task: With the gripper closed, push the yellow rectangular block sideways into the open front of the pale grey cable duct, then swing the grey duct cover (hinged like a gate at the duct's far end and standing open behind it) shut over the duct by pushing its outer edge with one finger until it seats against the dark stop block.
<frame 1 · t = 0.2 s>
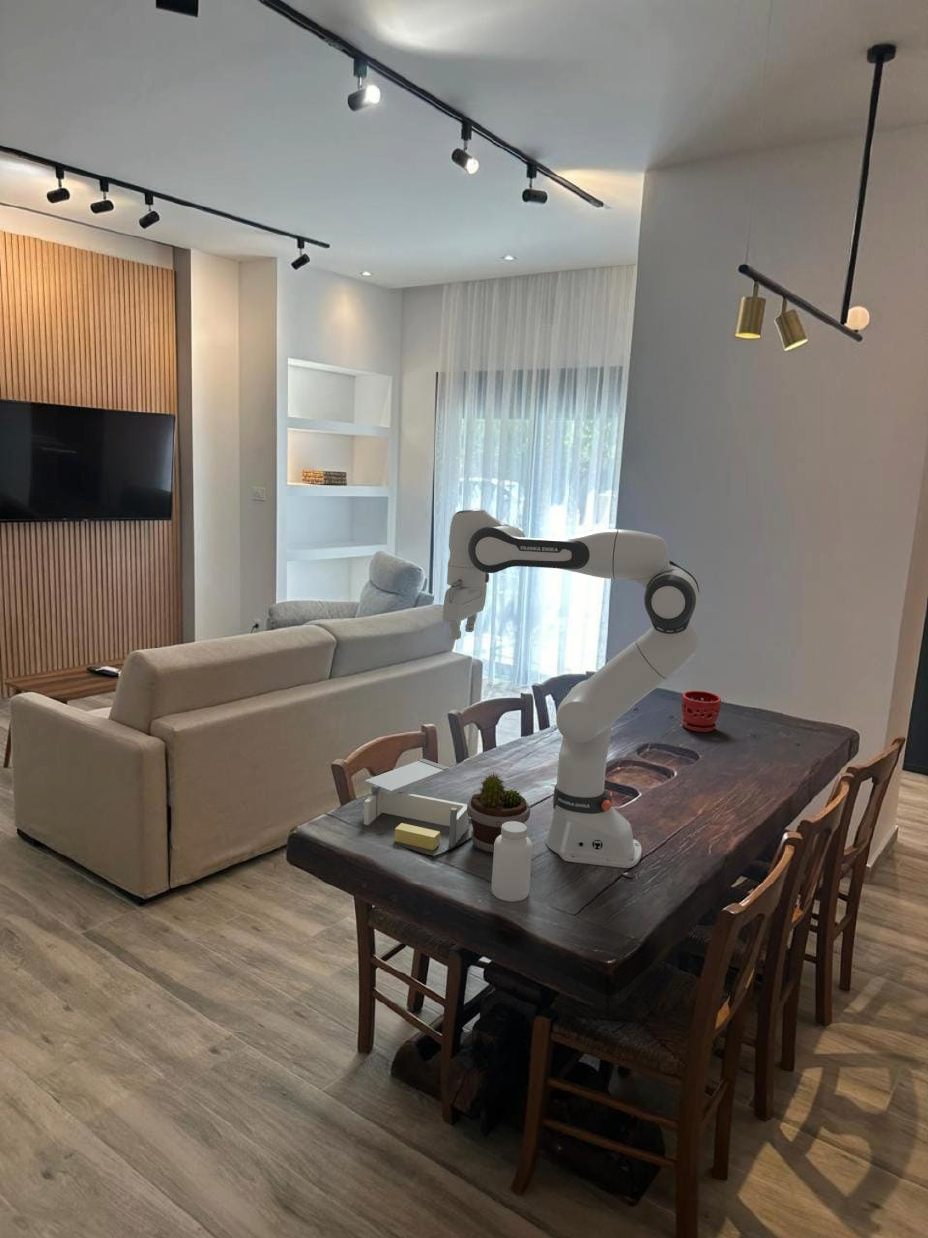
hand: (463, 635, 197), 47 cm above the table, fingers open, 8 cm apart
yellow rectangular block: (417, 843, 194), on the table
pill bottle: (510, 894, 173), on the table
flowerpot: (495, 847, 194), on the table
duct cover: (405, 776, 213), point 8 cm above the table, hinge at 70.0°
duct: (416, 826, 202), on the table
plant pot: (698, 729, 291), on the table
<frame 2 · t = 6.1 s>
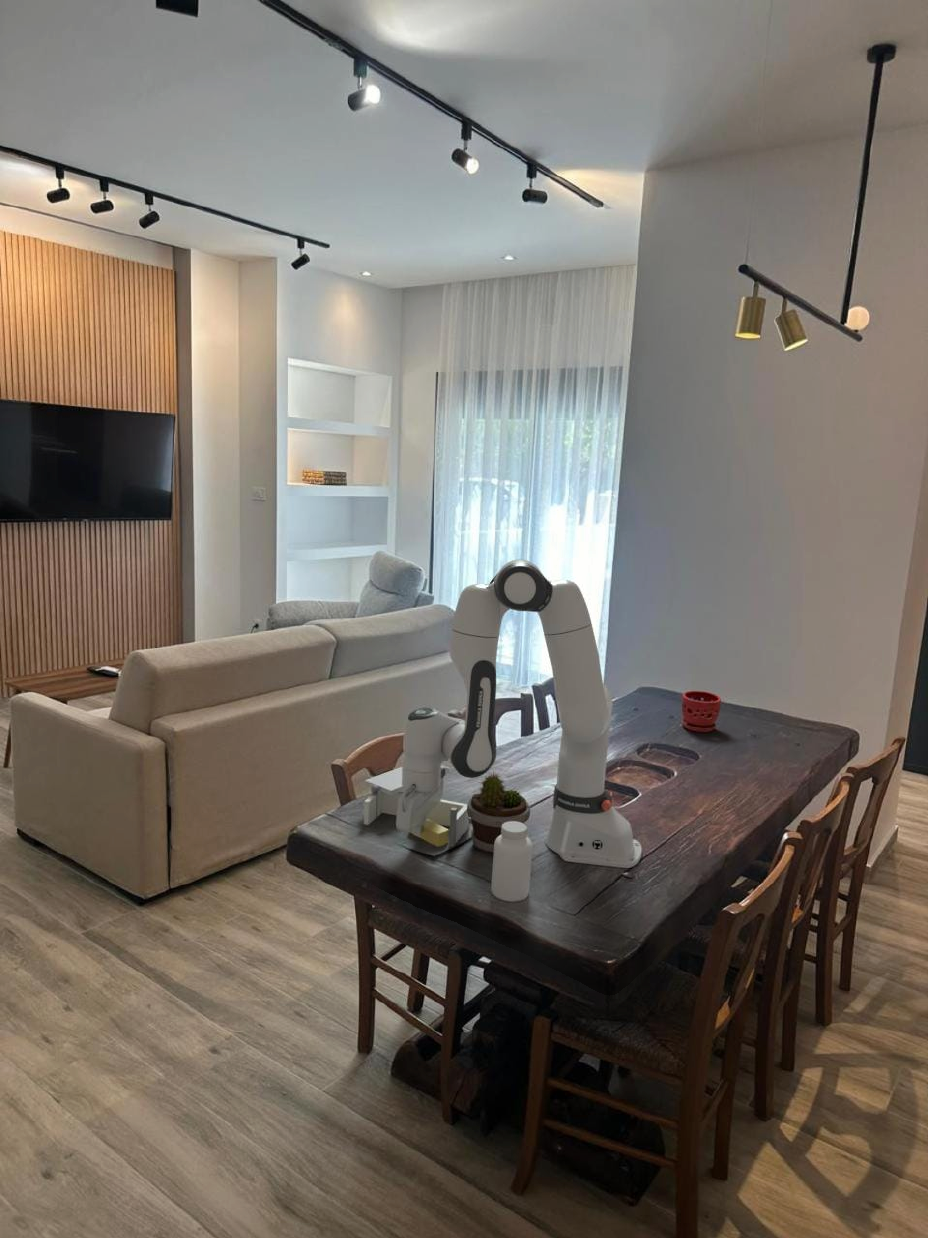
hand: (418, 833, 194), 2 cm above the table, fingers closed
yellow rectangular block: (428, 838, 197), on the table
everything else where it was.
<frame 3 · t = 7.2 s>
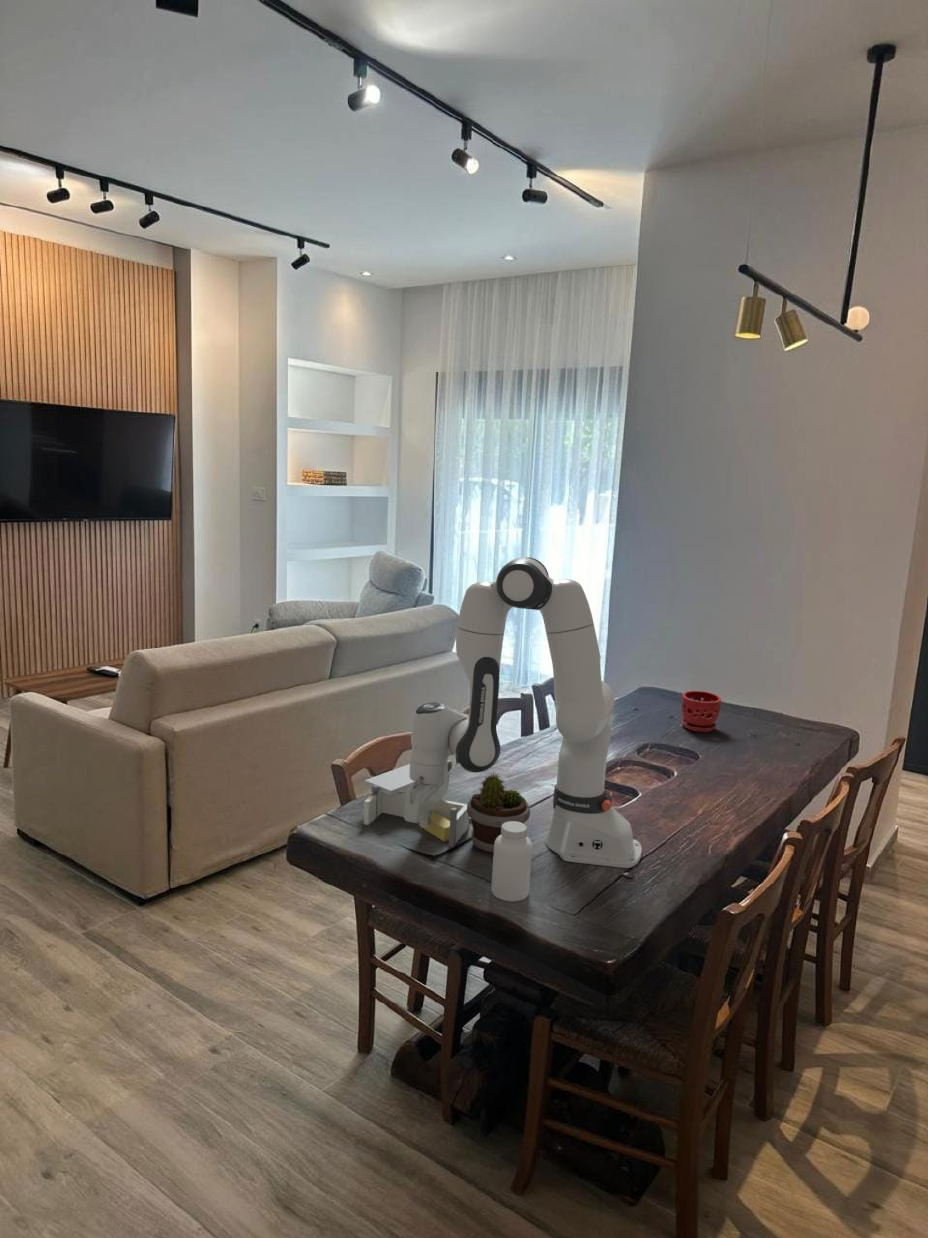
hand: (425, 825, 198), 2 cm above the table, fingers closed
yellow rectangular block: (437, 832, 200), on the table, touching duct, gripper
everything else where it was.
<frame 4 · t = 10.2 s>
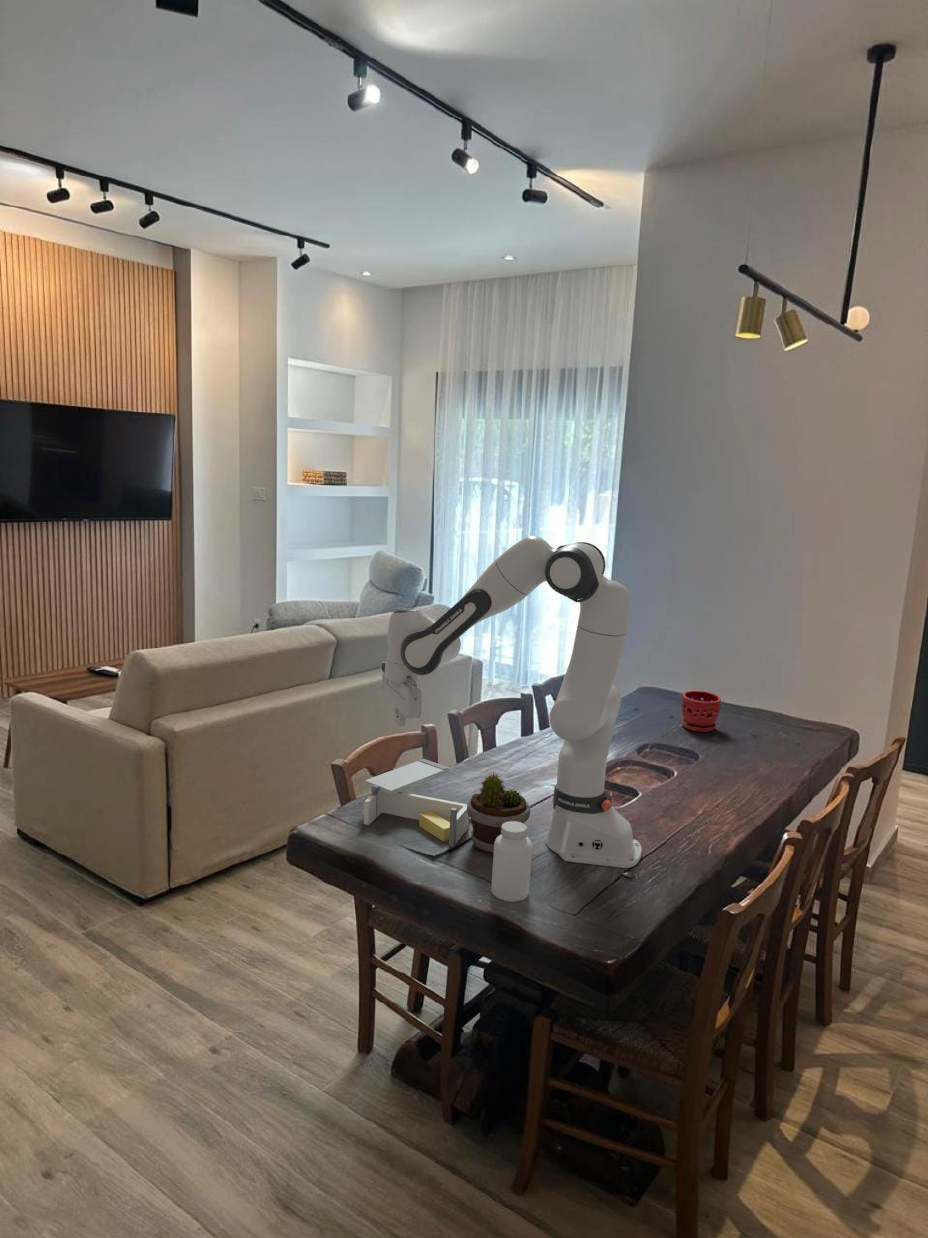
hand: (400, 724, 209), 22 cm above the table, fingers closed
yellow rectangular block: (436, 833, 200), on the table
everything else where it was.
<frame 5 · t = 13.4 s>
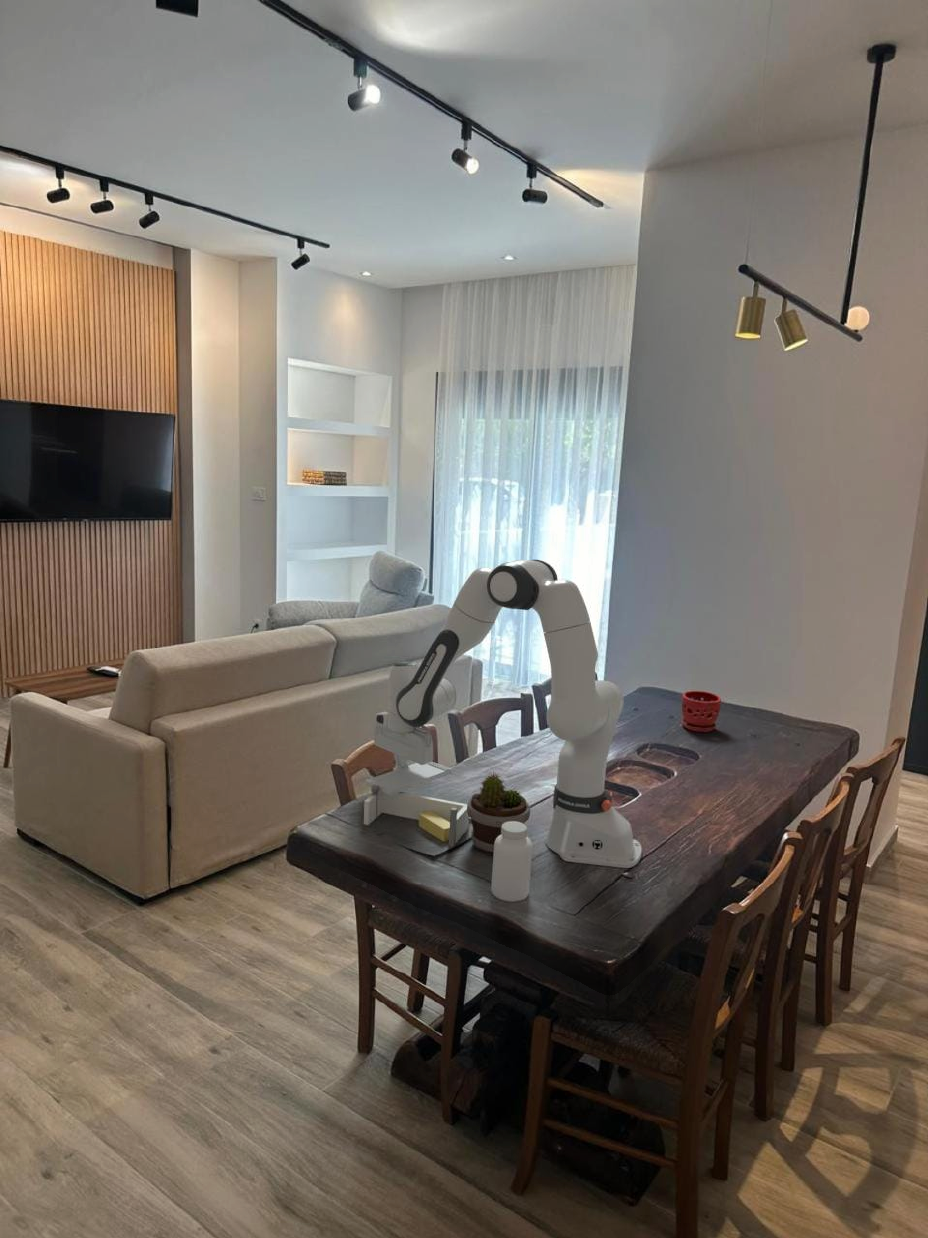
hand: (402, 770, 220), 7 cm above the table, fingers closed
duct cover: (406, 777, 213), point 8 cm above the table, hinge at 67.8°, touching gripper
everything else where it was.
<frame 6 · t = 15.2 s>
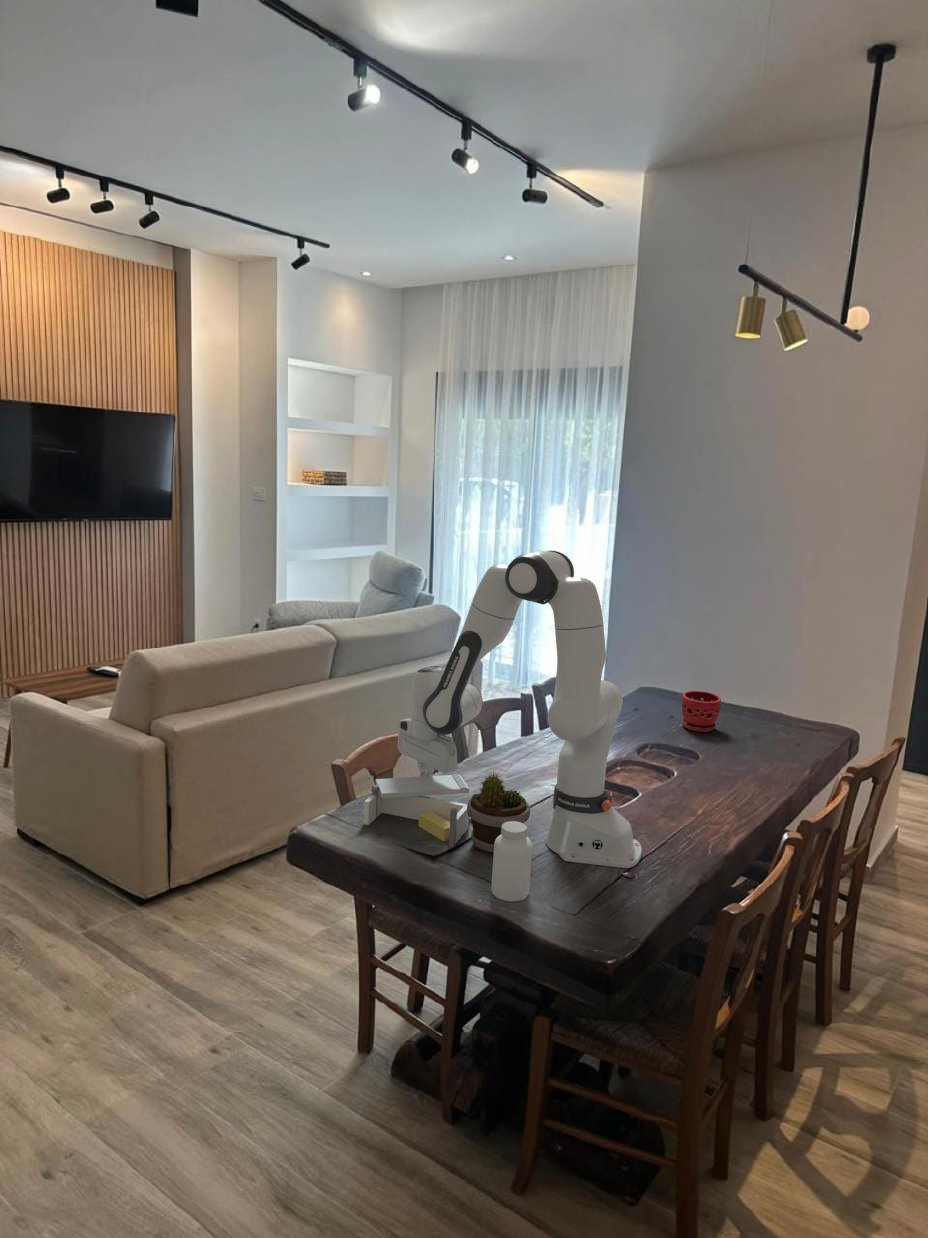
hand: (425, 779, 214), 7 cm above the table, fingers closed
duct cover: (418, 785, 208), point 8 cm above the table, hinge at 34.6°, touching gripper
everything else where it was.
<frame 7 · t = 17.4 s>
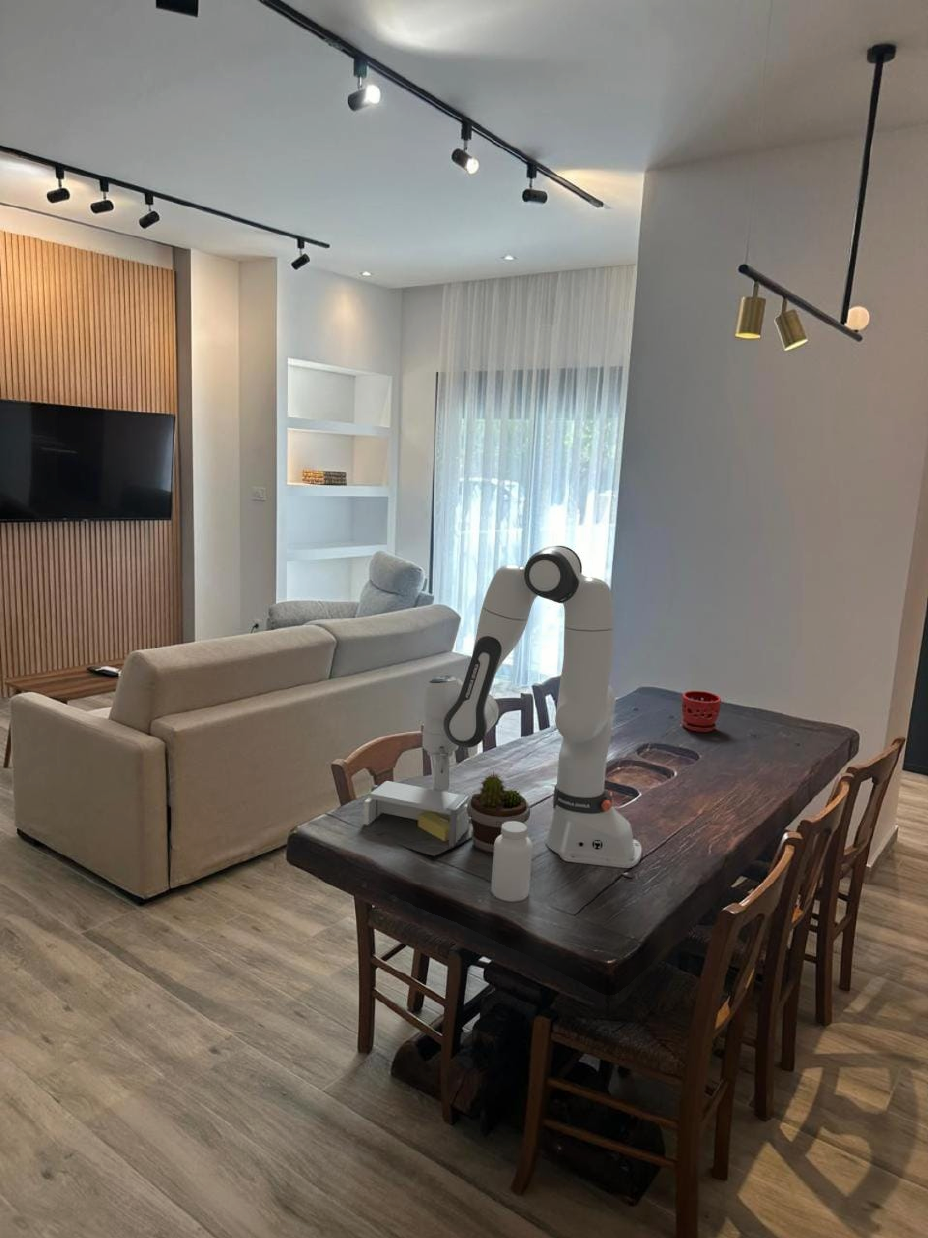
hand: (438, 793, 205), 7 cm above the table, fingers closed
duct cover: (416, 796, 201), point 8 cm above the table, hinge at -0.5°, touching gripper
everything else where it was.
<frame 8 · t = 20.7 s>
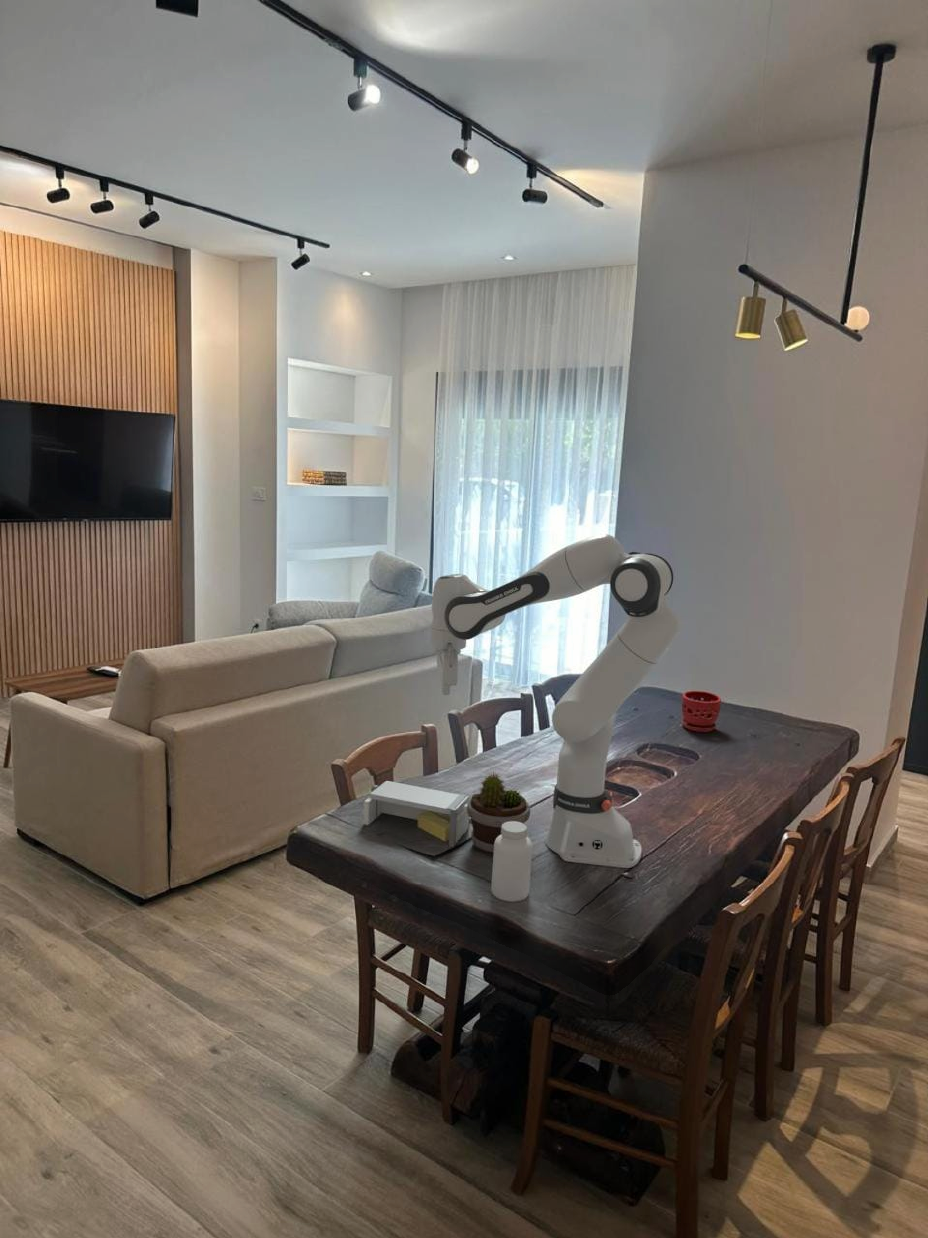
hand: (445, 693, 206), 31 cm above the table, fingers closed
duct cover: (416, 796, 201), point 8 cm above the table, hinge at -0.4°
everything else where it was.
at the end: yellow rectangular block inside the target area (5.6 cm from its centre), on the table; duct cover at +0° (first picture: +70°) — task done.
